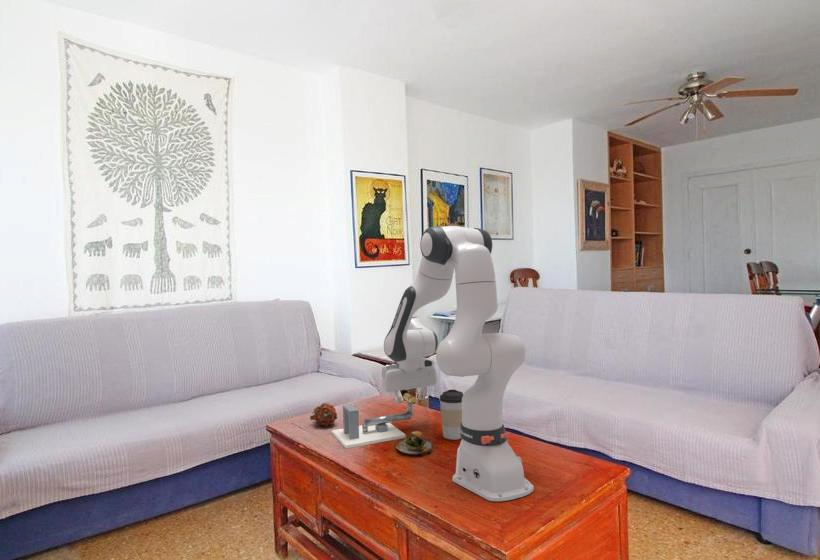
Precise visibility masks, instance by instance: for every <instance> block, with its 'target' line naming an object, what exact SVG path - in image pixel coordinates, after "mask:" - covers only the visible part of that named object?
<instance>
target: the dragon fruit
mask: <svg viewBox="0 0 820 560" xmlns="http://www.w3.org/2000/svg"><path fill="white" fill-rule="evenodd" d="M313 410H314V411H313V412H311V414H312V415H310V416H309V419H310V420H311V421H315V425H317V426H323V427H330V426H331V425H332V424H334V422H335V421H336V420H337V419H338V413H337V411H336V408H335V406H333V405H332V404H331V405H330V404H329V403H325V402H323V403H322V404H321V405H320V406H316V407H315V408H314V409H313Z"/></svg>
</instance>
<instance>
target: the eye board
mask: <svg viewBox="0 0 820 560" xmlns="http://www.w3.org/2000/svg"><path fill="white" fill-rule="evenodd" d="M342 416H343V417H342V418H343V419H342V421H343V428H337V429H332V430H331V435H333V437H334V438H335V439H336V440H337V442H339V443H340V444H341V445H342V446H343V447H344V448H345V449H346V450H347V449H351V448H357V447H363V446H368V445H372V444H378V443H385V442H389V441H396V440H400V439H405V438H406V436H407V434H406V433H404V432H403V431H401V430H400V429H399V428H397V427H396V426H395V425H393V424H392V422H391V423H385V424H379V425H373V426H368V432H362V425H363V424H361V425H360V421H359V420H360V419H359V418H360V417H359V409H358V408H356V406H354V405H353V404H352V403H350V404H344V405H342Z"/></svg>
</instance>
